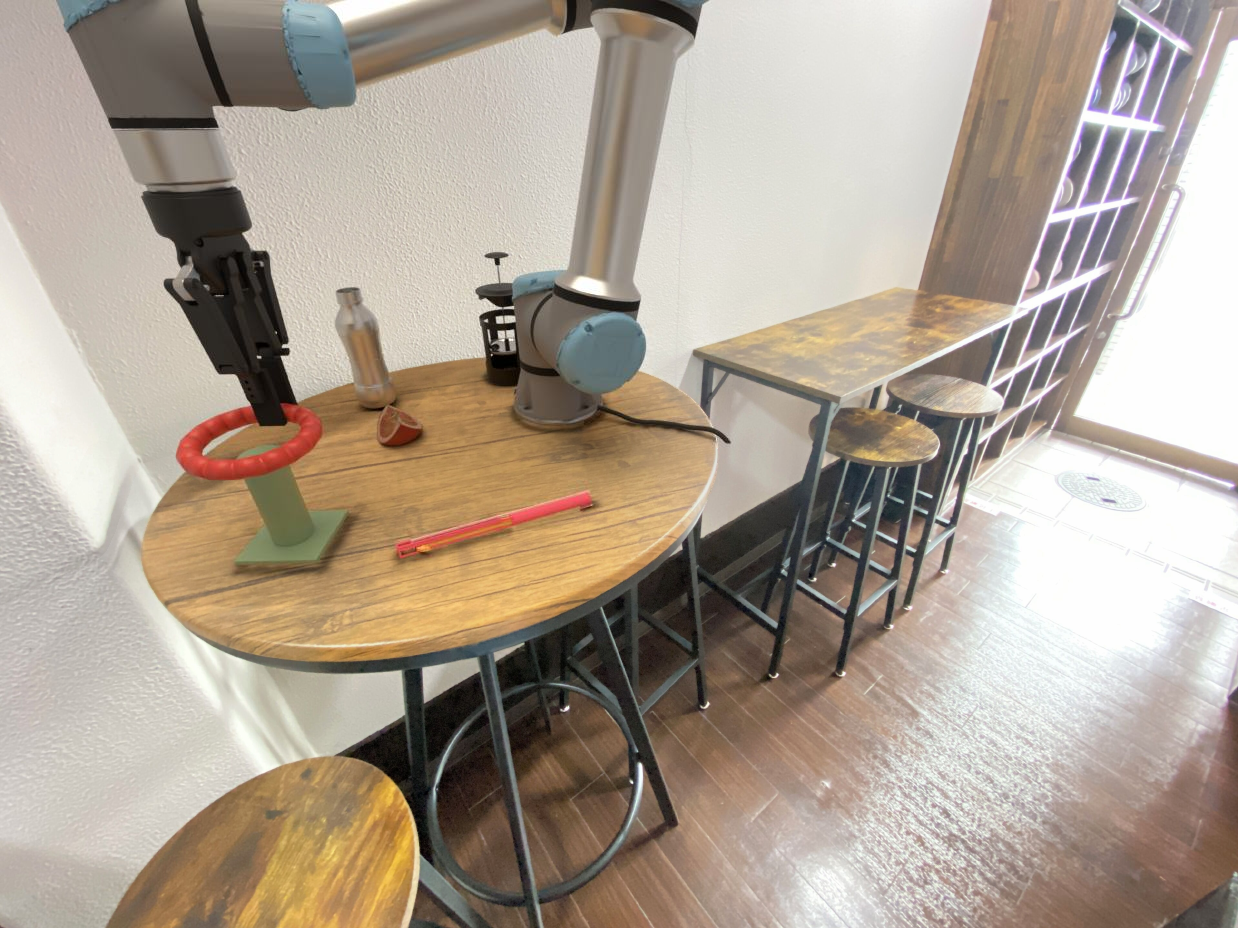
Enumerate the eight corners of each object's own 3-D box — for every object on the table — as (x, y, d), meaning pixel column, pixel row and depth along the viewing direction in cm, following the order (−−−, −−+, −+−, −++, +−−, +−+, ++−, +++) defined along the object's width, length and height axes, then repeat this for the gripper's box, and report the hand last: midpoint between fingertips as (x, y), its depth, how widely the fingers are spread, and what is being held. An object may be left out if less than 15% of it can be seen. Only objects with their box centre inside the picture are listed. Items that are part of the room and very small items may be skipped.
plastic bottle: (407, 401, 95) (379, 288, 85) (374, 416, 91) (340, 298, 80) (384, 393, 98) (354, 282, 88) (351, 407, 94) (315, 292, 83)
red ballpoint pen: (398, 552, 63) (400, 567, 59) (394, 536, 63) (395, 550, 59) (584, 499, 72) (597, 509, 68) (582, 484, 72) (595, 493, 67)
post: (351, 519, 68) (321, 433, 61) (320, 569, 60) (281, 477, 53) (278, 520, 67) (240, 434, 60) (238, 571, 60) (189, 479, 53)
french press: (501, 391, 99) (484, 262, 86) (474, 376, 105) (454, 253, 92) (551, 374, 106) (542, 251, 93) (523, 361, 111) (511, 244, 99)
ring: (341, 415, 62) (337, 400, 61) (293, 483, 52) (287, 466, 50) (224, 415, 61) (217, 400, 60) (151, 485, 51) (141, 468, 50)
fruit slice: (374, 435, 85) (366, 407, 83) (416, 424, 88) (410, 397, 86) (386, 459, 79) (378, 429, 77) (431, 446, 82) (425, 417, 80)
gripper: (200, 178, 54) (280, 390, 67) (77, 196, 41) (205, 454, 54) (275, 178, 54) (341, 389, 67) (175, 196, 42) (280, 453, 54)
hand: (280, 418), depth 61 cm, fingers closed on ring, 2 cm apart
